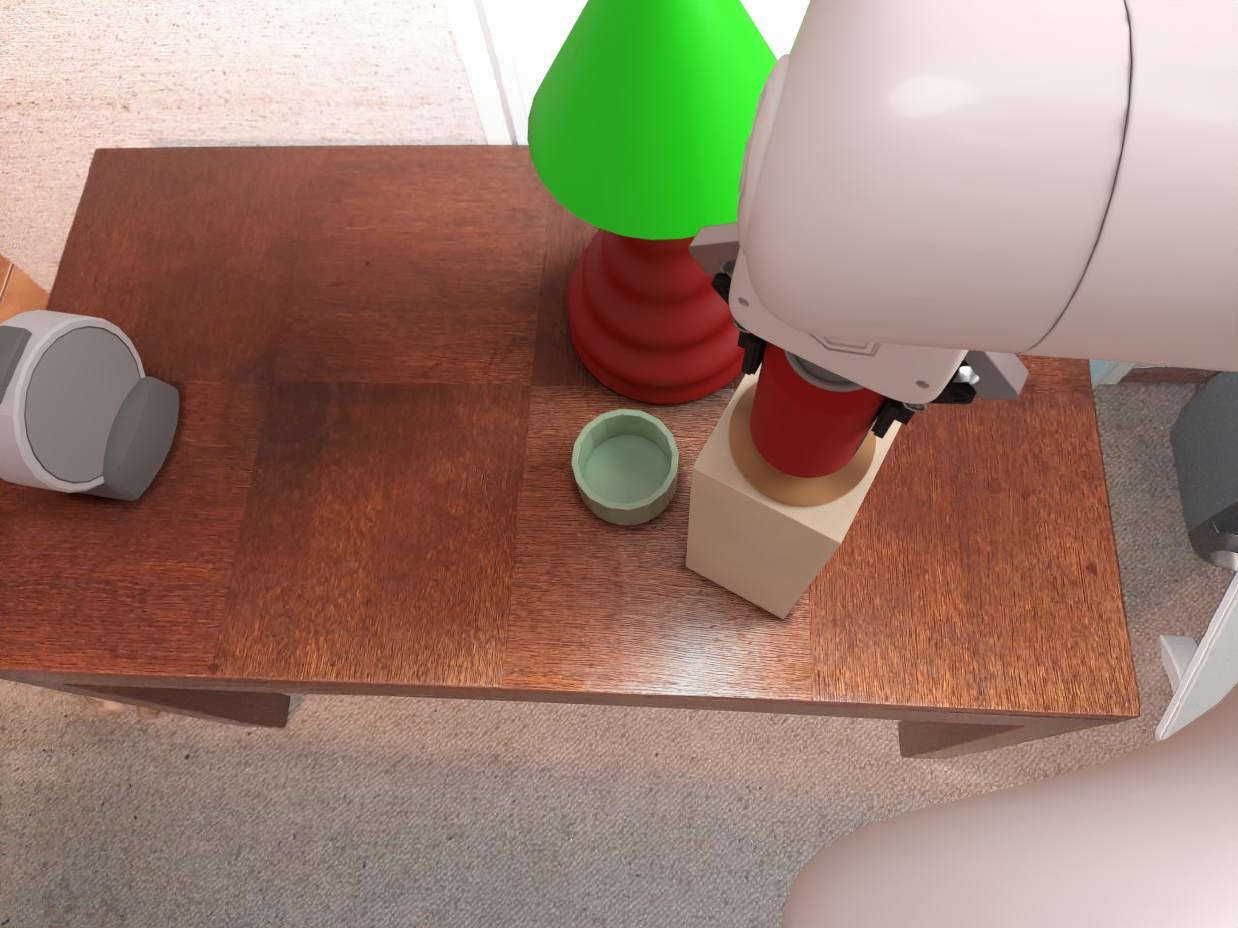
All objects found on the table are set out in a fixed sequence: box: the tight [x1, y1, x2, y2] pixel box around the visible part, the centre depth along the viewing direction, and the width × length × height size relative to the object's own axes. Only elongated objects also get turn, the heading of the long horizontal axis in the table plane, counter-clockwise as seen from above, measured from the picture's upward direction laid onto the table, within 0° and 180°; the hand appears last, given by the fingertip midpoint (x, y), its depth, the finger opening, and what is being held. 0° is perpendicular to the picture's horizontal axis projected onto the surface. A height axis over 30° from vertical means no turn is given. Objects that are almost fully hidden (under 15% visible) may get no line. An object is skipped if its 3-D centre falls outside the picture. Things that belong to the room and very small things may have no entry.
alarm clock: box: [0, 309, 180, 502], centre depth 78 cm, size 16×10×18 cm, turn 170°
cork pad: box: [729, 381, 877, 507], centre depth 53 cm, size 9×9×1 cm
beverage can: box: [750, 341, 889, 478], centre depth 46 cm, size 7×7×12 cm
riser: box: [685, 363, 903, 620], centre depth 66 cm, size 10×10×28 cm
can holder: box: [570, 408, 680, 526], centre depth 80 cm, size 10×10×6 cm
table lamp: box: [526, 0, 779, 405], centre depth 67 cm, size 20×20×45 cm
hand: (823, 381), depth 45 cm, fingers closed on beverage can, 6 cm apart
